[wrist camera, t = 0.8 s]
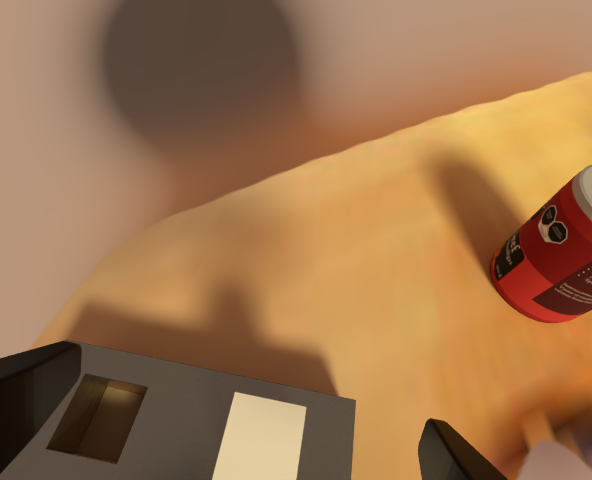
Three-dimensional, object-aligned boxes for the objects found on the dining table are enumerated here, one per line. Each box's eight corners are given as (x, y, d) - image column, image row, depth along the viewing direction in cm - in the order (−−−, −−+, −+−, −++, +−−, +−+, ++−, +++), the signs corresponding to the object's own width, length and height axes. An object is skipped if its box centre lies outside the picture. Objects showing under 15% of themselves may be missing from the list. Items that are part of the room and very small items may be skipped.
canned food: (516, 236, 34) (610, 149, 25) (591, 298, 30) (731, 223, 21) (469, 270, 31) (556, 185, 22) (546, 343, 27) (687, 278, 18)
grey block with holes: (332, 545, 19) (346, 557, 16) (24, 477, 19) (-16, 477, 16) (343, 409, 23) (355, 400, 20) (89, 356, 23) (65, 339, 21)
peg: (279, 490, 20) (293, 498, 13) (227, 479, 20) (211, 480, 13) (289, 430, 22) (306, 407, 15) (241, 420, 22) (234, 391, 15)
